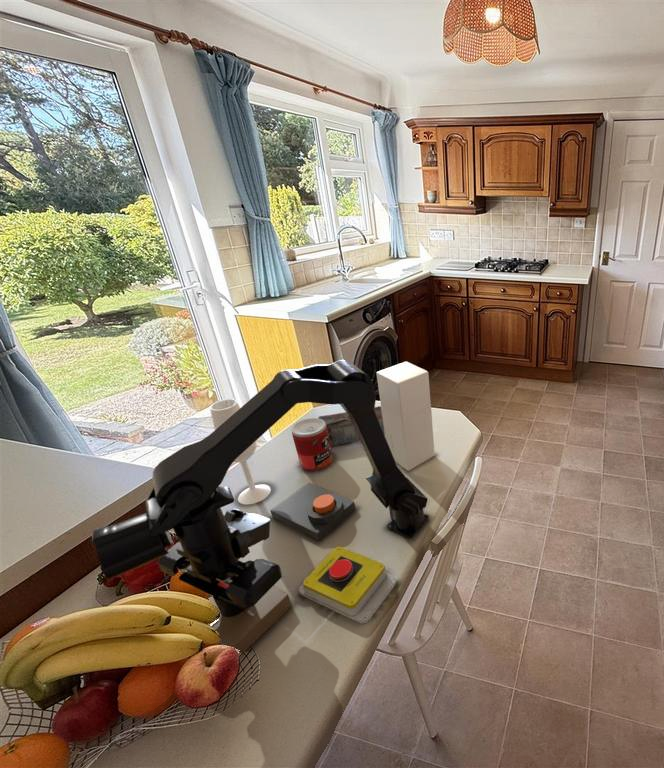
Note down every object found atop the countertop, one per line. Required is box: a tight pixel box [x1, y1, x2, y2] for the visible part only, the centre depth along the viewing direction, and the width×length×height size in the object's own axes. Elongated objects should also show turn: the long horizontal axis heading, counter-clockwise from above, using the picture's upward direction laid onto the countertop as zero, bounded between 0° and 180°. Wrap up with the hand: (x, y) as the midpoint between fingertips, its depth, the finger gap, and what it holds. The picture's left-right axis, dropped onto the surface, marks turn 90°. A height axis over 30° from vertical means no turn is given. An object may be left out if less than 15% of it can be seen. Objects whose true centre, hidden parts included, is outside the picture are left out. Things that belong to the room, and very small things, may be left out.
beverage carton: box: [318, 405, 385, 447], centre depth 114 cm, size 8×19×7 cm, turn 111°
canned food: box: [291, 417, 334, 472], centre depth 102 cm, size 8×8×11 cm
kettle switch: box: [313, 494, 335, 514], centre depth 85 cm, size 4×4×2 cm
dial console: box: [208, 585, 292, 655], centre depth 67 cm, size 12×10×3 cm
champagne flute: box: [209, 398, 272, 505], centre depth 88 cm, size 7×7×24 cm
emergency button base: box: [269, 482, 356, 542], centre depth 88 cm, size 14×10×4 cm
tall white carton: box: [376, 361, 436, 472], centre depth 102 cm, size 9×9×25 cm
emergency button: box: [298, 546, 398, 624], centre depth 72 cm, size 9×4×15 cm
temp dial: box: [213, 580, 244, 617], centre depth 66 cm, size 4×4×4 cm
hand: (235, 602), depth 67 cm, fingers closed on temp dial, 4 cm apart
